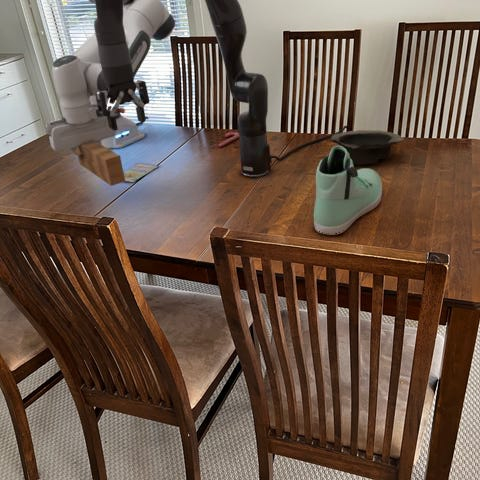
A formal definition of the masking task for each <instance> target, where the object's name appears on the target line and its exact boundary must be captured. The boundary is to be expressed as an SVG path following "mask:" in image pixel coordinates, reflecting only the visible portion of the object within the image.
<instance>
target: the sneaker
mask: <svg viewBox="0 0 480 480" xmlns="http://www.w3.org/2000/svg"><path fill="white" fill-rule="evenodd" d="M317 165H318V166H317V168H316V172H315V201H314V207H313V225H314V229H315V231H316V232H318V233H320V234H323V235H326V236H327V235H328V236H336V235H339V234H342V233H344V232H345V231H347V230H348V229H349V228H350V227H351V226H352V225H353V224H354V222H356V221H357V220H358V219H359V218H360V217H362V216H363V215H365V214H367V213H370V212H372V210H374V209H375V208H377V207H378V205H380V203H381V200H382V196H383V184H382V183H383V182H382V179H381V176H380V175H379V173H378V172H377V171H376V170H374V169H372V168H367V167H365V168H358V169H357V168H355V167H354V166H355V165H353V161H352V159H350V156H349V153H348V152H347V150H346V149H345V148H344V147H342V146H339V145H334V146H333V147H331V149H330V151H329V154H327V155H326V156H325V157H324V158H322V159H321V160H320V161H319V163H318V164H317ZM343 230H344V231H343ZM319 231H320V232H319ZM322 232H323V233H322ZM339 232H340V233H339ZM326 233H327V234H326ZM328 233H329V234H328ZM335 233H337V234H335Z"/></svg>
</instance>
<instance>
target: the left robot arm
mask: <svg viewBox="0 0 480 480" xmlns="http://www.w3.org/2000/svg"><path fill="white" fill-rule="evenodd" d="M163 3H164V2H162V1H161V0H123V25H124V30H125V35H126V41H127V45H128V48H129V52H130V57H131V63H132V68H133V74H134V78H135V77H136V75H137V73H138V71H139V70H140V68H141V66H142V64H143V63H144V61H145V59H146V58H147V56H148V54H149V52H150V48H151V44H152V39H153V40H154V41H162V40H165V39H167V38H168V37H170V36H171V34H172V33H173V31H174V29H175V27H176V21H175V19H174V17H173V15H172V13H170V12H169V10H168V8H166V6H165V5H164V4H163ZM51 67H52V68H51V71H52V79H53V83H54V84H53V85H54V88H55V91H56V95H58V97H59V107H60V111H61V114H62V117H60V118H57V119H52V120H49V121H48V122H47V124H46V125H45V130H46V134H47V136H48V137H49V138H48V139H49V144H50V147H51V150H53V151H55V152H56V153H60V152H61V153H62V152H64V151H67V150H70V152H72V153H73V155H74V156H75V158H76V160H77V161H78V162H79V160H82V159H83V158H82V154H80V153H77V152H76V150H77V148H76V147H79V146H80V144H83V143H87V142H90V141H95V142H97V143H99V144H101V145H102V146H104V147H106V148H108V149H109V150H110V149H121V148H122V149H123V148H124V147H127V146H128V145H131V144H132V143H135V142H137V141H139V140H141V139H143V138H145V137H146V135H145V133H144V132H142V131H140V130H139V129H138V126H139V125H142V124H144V123H145V122H146V121H147V120H149V117H148V116H145V119H144V120H145V121H144V122H140V121H138V122H137V123H135V122H134V121H133V120H131V119H129V118H127V117H125V116H123V115H122V114H125V112H126V109H125V108H124V107H123V108H122V107H118V109H116V112H115V114H114V116H115V118H116V123H117V128H118V130H116V131H114V130H112V129H111V128H110V127H109V124H108V120H107V117H106V116H103V115H100V114H99V113H98V107H97V101H96V95H95V92H96V91H100V92H101V91H106V84H105V82H104V77H103V72H102V68H101V63H100V58H99V52H98V43H97V39H96V34H95V33H93V34H92V35H91V36H90V37H89V38H88V39H87V40H85V42H83V43H82V44H81V45H80V46H79V47H78V48H77V49H76V50H75V51H74V52H73V53H72V54H69V55H64V56H61V57H58V58H57V59H55V60H54V61H53V62H52V66H51ZM108 100H109V97H108V96H107V99H106V106H107V103H108ZM113 104H114V102H113Z"/></svg>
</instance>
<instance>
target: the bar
mask: <svg viewBox="0 0 480 480" xmlns="http://www.w3.org/2000/svg"><path fill="white" fill-rule="evenodd" d="M76 148H77V150H76V152H77V153H80V154H82V158H83V159H82V160H79V161H78V163H79V165H80V166H82V167H83V168H84V169H86V170H88V171H89V172H90V173H92V174H93V175H95V176H96V177H98V178H99V179H101V181H103V182H105V183H106V184H108V185H109V186H110V187H113V186H116V185H119V184H122V183H124V182H126V181H125V177H124V172H125V171H124V168H123V164H122V159H121V158H122V157H121V155H120V154H118V153H116V152H115V151H113V150H112V149H110V148H109V149H108V148H106V147H104V146H102V145H101V144H99V143H97V142H95V141H90V142H87V143H83V144H80V146H79V147H76Z"/></svg>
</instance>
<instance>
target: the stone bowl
mask: <svg viewBox="0 0 480 480" xmlns="http://www.w3.org/2000/svg"><path fill="white" fill-rule="evenodd" d="M329 141H330V142H332V143H334V144H337V145H338V146H342V147H344V148H345V149H346V150H347V152H348V153H349V156H350V159H352V161H353V166H355V165H357V166H365V165H375V164H377V163H378V161H379V160H388V159H389V158H390V155H391V151H392V146H394V145H396V144H397V145H398V144H399V143H401V142H403V141H404V137H403V136H401V135H399V134H397V133H394V132H391V131H385V130H384V131H383V130H360V129H359V130H349V131H343V132H341V133H338V134H335V135H333V136H332V137H330V140H329Z"/></svg>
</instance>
